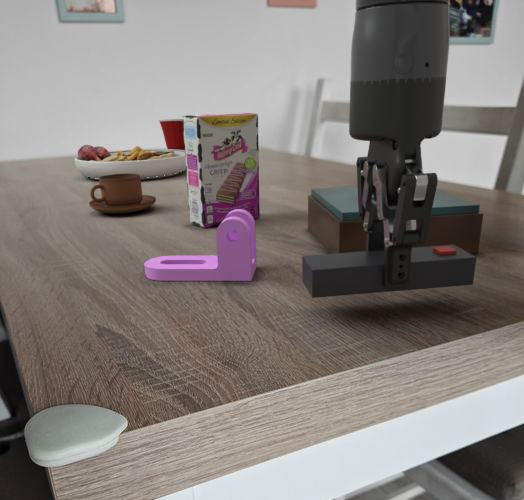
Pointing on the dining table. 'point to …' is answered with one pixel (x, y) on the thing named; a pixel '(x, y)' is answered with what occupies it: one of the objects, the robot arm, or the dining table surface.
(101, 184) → the cup and saucer
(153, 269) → the bracket
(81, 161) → the bowl
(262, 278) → the dining table surface
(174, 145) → the plastic cup
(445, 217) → the footstool
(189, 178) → the candy bar box
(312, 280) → the remote
